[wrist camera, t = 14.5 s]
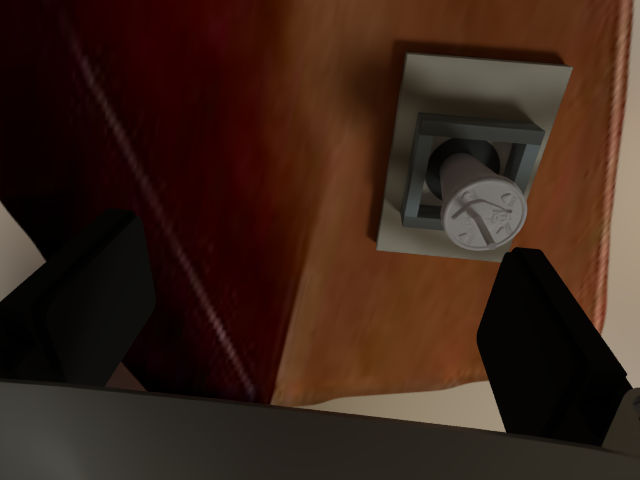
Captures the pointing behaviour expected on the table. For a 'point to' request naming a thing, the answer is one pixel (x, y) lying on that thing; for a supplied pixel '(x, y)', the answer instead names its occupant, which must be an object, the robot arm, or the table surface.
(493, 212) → the smoothie
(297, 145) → the table surface
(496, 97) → the holder
